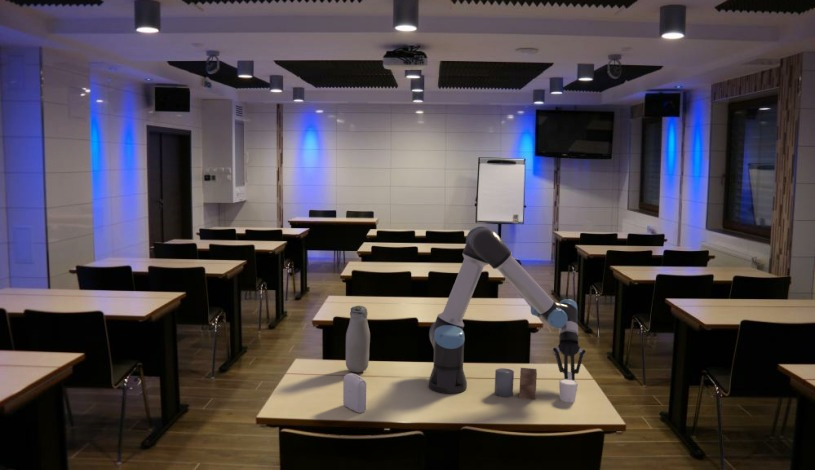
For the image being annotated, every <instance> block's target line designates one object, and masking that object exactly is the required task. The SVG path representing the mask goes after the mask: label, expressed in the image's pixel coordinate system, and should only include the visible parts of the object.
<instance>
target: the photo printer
mask: <svg viewBox="0 0 815 470" xmlns="http://www.w3.org/2000/svg"><path fill="white" fill-rule="evenodd" d="M342 390H343V391H342V392H343V394H342V395H343V396H342V398H343V400H342V401H343V406H344V407H346V408H347V409H350V410H352V411H354V412H356V413H358V414H361V413H365V411H366V410H367V382H366V380H365V379H364V378H363V377H362V376H360V375H358V374H356V373H354V372H350V373H346V374H345V375H344V376H343V389H342Z"/></svg>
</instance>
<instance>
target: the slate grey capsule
mask: <svg viewBox="0 0 815 470" xmlns="http://www.w3.org/2000/svg"><path fill="white" fill-rule="evenodd" d="M514 375H515V371H514V370H513V369H510V368H503V367H501V368H497V369H495V375H494V395H495V396H497V397H500V398H511V397H513V394H514Z"/></svg>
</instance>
